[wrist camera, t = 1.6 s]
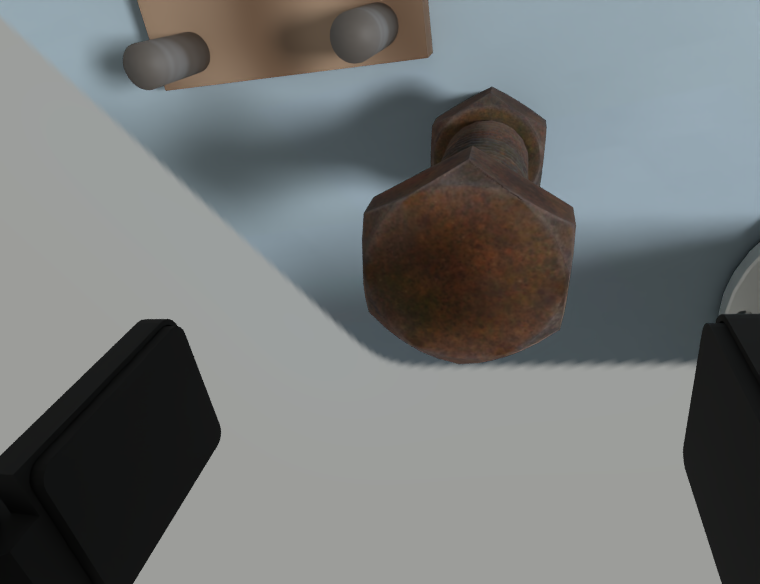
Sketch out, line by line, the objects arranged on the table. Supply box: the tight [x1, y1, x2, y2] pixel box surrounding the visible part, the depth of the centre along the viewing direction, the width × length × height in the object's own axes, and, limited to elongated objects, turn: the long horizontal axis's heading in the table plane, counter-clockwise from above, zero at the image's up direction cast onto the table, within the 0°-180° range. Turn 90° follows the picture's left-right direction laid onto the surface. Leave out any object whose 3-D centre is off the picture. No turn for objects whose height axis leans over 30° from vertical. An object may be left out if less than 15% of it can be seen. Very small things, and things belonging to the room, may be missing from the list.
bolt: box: [362, 87, 576, 364], centre depth 20 cm, size 6×5×15 cm
